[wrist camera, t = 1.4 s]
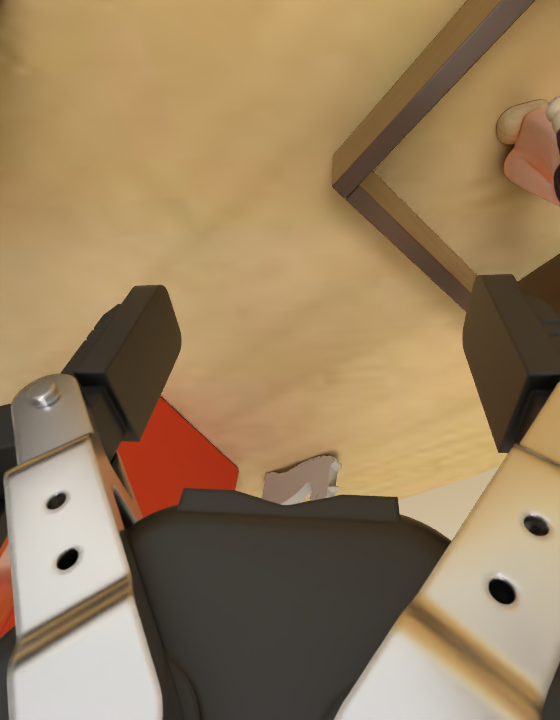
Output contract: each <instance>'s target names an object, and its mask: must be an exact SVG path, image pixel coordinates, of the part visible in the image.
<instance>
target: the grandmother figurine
mask: <svg viewBox="0 0 560 720" xmlns="http://www.w3.org/2000/svg"><path fill="white" fill-rule="evenodd" d="M497 135H498V138H499V140H500V141H501V142H503V143H505V144H515V147H514V148H513V149H512V151H511V152H510V153H509V154H508V156H507V158H506V160H505V162H504V173H505V175H506V177H507V178H508V179H509V180H510V181H512V182H513V183H514V184H516V185H517V186H519V187H521V188H523V189H525V190H526V191H528V192H530V193H533V194H535V195H538V196H540V197H542V198H543V199H545V200H547V201H549V202H551V203H553V204H555V205H558V206H560V97H557V98H555V99H553V100H552V101H551V102H550V103H548V102H547V101H546V100H536V101H532V102H528V103H524V104H521V105H517V106H514V107H511V108H509V109H508V110H506V111H505V112H504V113H503V114H502V115H501V117H500V118H499V120H498V123H497Z"/></svg>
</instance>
